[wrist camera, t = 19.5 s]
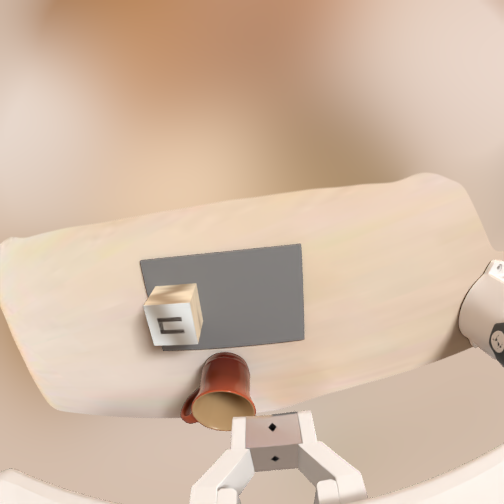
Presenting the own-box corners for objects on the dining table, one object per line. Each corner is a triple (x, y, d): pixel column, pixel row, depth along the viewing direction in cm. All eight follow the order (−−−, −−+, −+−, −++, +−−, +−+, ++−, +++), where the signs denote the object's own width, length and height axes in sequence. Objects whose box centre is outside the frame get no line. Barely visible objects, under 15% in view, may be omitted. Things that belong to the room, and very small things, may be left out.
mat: (300, 243, 41) (301, 244, 40) (303, 337, 45) (304, 339, 45) (141, 260, 41) (140, 261, 40) (163, 348, 46) (163, 350, 45)
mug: (234, 336, 45) (232, 381, 35) (263, 373, 47) (267, 418, 38) (173, 366, 47) (160, 410, 37) (204, 398, 49) (198, 442, 39)
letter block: (143, 306, 36) (155, 286, 42) (154, 345, 38) (164, 322, 44) (189, 303, 36) (196, 283, 42) (198, 344, 38) (203, 320, 43)
